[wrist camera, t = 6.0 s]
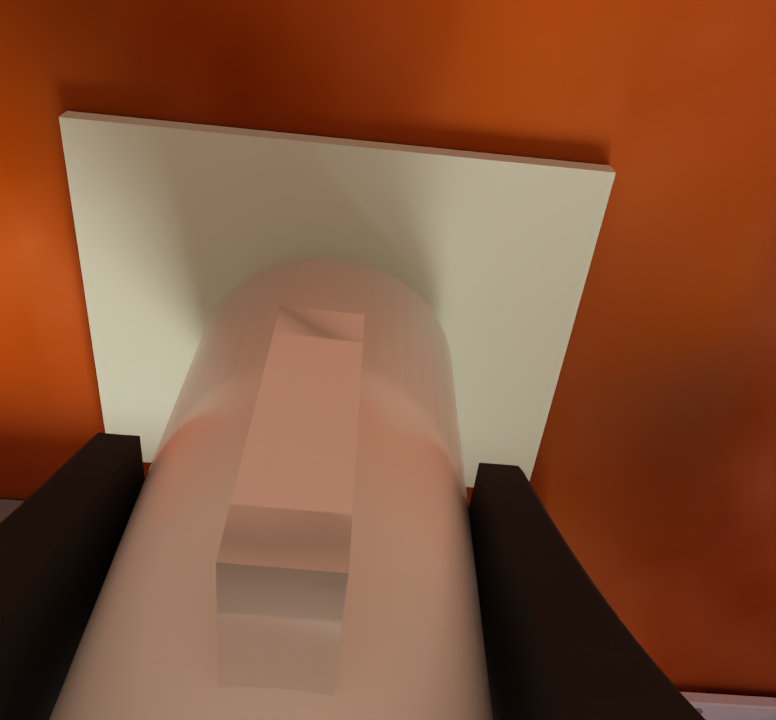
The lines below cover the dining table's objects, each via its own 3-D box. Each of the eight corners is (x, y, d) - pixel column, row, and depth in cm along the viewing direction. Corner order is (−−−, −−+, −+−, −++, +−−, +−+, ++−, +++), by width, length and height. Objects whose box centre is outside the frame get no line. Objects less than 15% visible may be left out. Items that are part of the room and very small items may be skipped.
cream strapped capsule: (426, 496, 17) (452, 1011, 9) (204, 476, 16) (45, 993, 9) (489, 191, 13) (629, 677, 5) (193, 156, 12) (-115, 622, 5)
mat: (610, 165, 14) (615, 172, 13) (524, 479, 18) (526, 491, 18) (67, 110, 13) (58, 117, 13) (114, 448, 18) (109, 459, 17)
